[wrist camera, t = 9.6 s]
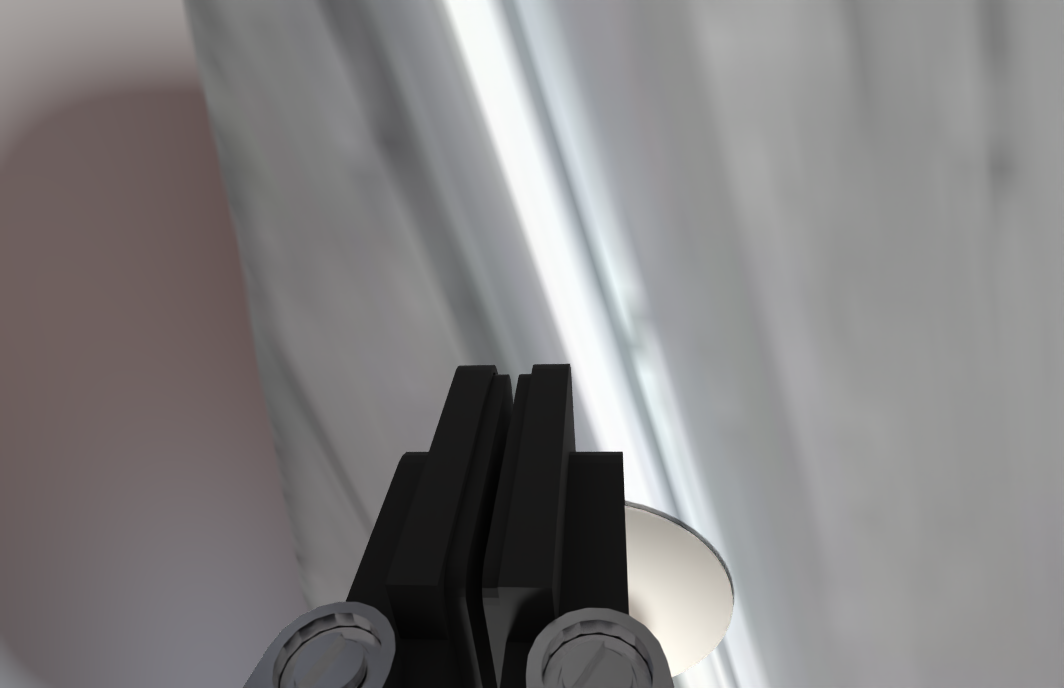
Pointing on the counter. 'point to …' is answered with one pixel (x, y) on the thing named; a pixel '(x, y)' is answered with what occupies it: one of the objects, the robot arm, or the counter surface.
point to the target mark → (676, 588)
